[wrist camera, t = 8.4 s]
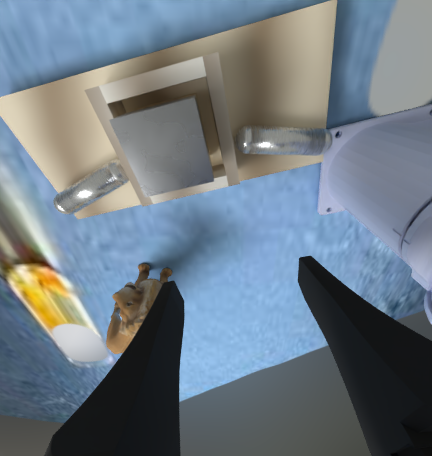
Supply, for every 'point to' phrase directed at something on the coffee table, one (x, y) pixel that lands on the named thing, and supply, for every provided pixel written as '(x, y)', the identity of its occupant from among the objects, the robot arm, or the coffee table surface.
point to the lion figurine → (133, 308)
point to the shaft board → (177, 87)
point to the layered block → (166, 145)
